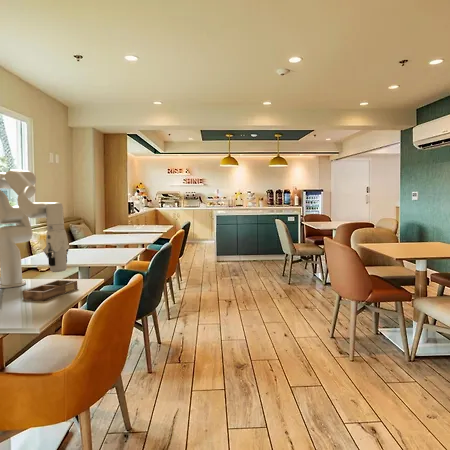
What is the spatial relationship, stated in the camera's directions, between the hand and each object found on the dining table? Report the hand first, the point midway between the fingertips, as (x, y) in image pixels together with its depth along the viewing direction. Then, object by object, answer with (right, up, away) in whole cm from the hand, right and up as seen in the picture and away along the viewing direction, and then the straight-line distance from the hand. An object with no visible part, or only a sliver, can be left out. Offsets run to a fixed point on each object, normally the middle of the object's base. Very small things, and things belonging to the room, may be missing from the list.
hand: (58, 263), depth 174 cm
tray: (-1, -14, -4) cm, 14 cm away
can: (0, -4, 0) cm, 4 cm away
